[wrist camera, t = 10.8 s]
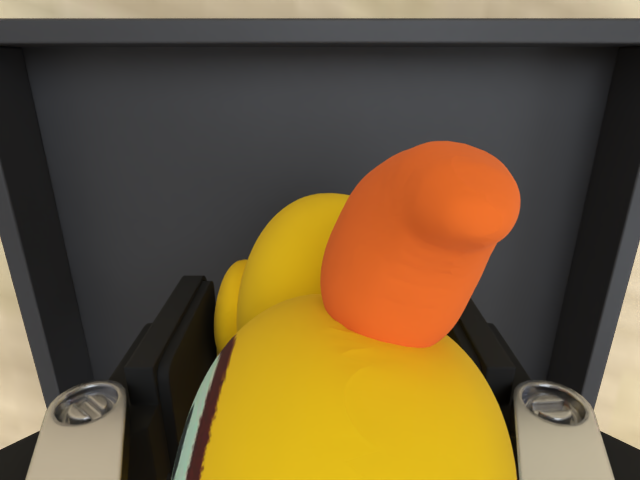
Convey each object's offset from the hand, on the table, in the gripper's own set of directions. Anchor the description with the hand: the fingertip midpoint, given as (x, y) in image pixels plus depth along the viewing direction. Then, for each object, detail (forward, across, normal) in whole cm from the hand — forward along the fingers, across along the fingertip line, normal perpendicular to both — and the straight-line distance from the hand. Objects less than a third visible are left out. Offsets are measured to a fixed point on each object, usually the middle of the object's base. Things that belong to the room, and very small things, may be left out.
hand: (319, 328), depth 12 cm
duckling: (+2, 0, 0) cm, 2 cm away
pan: (+5, 0, 0) cm, 5 cm away
